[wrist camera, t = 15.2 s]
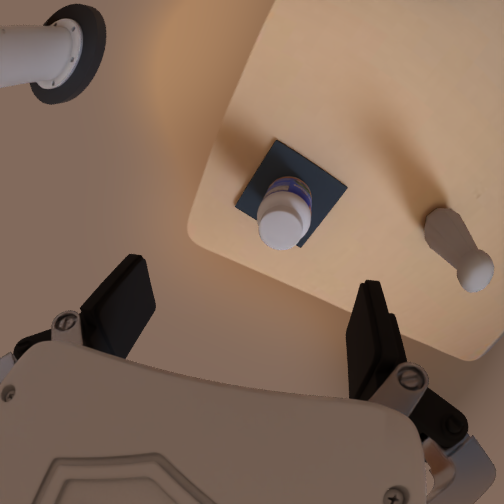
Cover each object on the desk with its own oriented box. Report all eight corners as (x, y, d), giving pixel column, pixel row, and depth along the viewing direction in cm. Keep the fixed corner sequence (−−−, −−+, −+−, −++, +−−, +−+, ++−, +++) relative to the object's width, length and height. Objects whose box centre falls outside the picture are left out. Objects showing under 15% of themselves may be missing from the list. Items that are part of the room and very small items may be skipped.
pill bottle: (318, 208, 34) (320, 246, 26) (279, 223, 36) (267, 265, 28) (300, 167, 32) (295, 193, 24) (259, 185, 34) (240, 216, 26)
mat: (235, 205, 36) (234, 206, 36) (276, 139, 31) (276, 139, 31) (300, 246, 37) (300, 248, 37) (347, 186, 32) (347, 187, 32)
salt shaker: (462, 214, 30) (511, 265, 19) (441, 248, 33) (480, 308, 22) (432, 194, 30) (480, 243, 19) (411, 231, 33) (446, 292, 22)
